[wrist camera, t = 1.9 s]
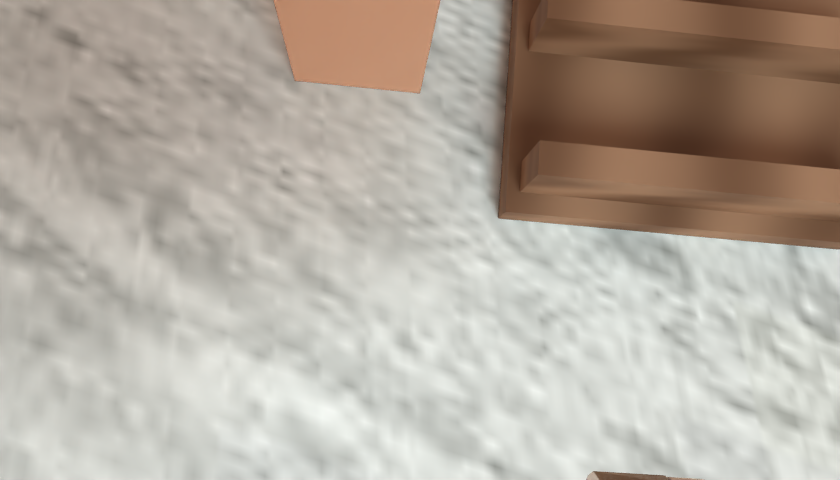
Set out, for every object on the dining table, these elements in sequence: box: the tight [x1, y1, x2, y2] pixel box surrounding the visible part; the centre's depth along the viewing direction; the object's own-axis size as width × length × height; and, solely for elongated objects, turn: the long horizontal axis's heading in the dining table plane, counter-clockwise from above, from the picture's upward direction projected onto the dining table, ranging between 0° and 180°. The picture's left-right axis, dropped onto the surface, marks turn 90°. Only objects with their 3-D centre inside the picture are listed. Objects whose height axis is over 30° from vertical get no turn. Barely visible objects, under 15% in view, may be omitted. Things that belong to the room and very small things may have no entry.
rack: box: [498, 0, 840, 249], centre depth 29 cm, size 14×14×4 cm
